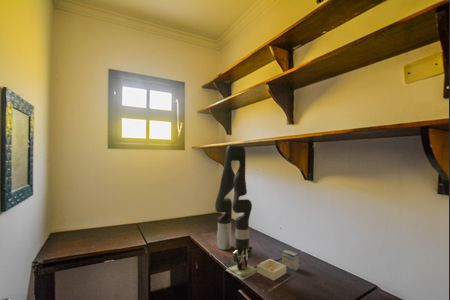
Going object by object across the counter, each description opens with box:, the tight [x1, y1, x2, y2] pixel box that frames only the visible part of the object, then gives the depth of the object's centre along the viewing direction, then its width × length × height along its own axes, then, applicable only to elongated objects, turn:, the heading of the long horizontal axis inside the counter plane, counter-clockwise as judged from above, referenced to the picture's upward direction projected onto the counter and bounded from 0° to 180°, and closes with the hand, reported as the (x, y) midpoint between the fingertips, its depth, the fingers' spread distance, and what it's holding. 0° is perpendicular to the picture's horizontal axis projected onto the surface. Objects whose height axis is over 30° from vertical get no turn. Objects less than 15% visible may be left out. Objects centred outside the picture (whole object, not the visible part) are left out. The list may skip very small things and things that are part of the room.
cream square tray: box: [256, 258, 287, 281], centre depth 124 cm, size 11×11×4 cm
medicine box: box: [281, 249, 299, 272], centre depth 130 cm, size 8×4×9 cm, turn 45°
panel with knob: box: [225, 268, 257, 281], centre depth 126 cm, size 13×13×1 cm
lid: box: [227, 258, 257, 278], centre depth 126 cm, size 11×11×6 cm
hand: (242, 267), depth 126 cm, fingers open, 3 cm apart
